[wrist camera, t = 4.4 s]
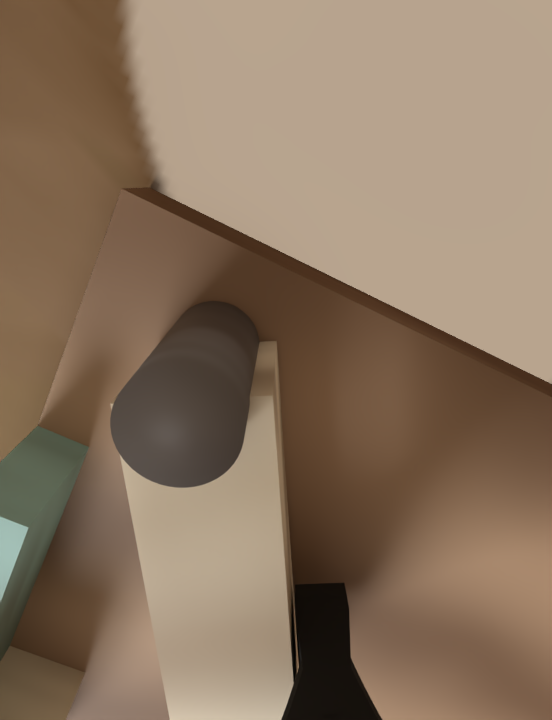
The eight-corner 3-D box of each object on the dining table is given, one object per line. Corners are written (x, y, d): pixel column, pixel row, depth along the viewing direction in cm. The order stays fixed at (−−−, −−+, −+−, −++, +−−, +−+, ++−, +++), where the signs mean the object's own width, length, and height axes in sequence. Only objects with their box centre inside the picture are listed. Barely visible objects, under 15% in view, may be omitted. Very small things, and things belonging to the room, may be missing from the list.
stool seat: (499, 823, 18) (592, 1109, 13) (-19, 639, 16) (-188, 890, 10) (811, 511, 14) (1178, 740, 8) (149, 187, 11) (11, 192, 6)
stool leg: (149, 304, 10) (72, 371, 7) (273, 297, 10) (265, 361, 6) (204, 671, 13) (173, 850, 10) (298, 668, 13) (302, 848, 10)
